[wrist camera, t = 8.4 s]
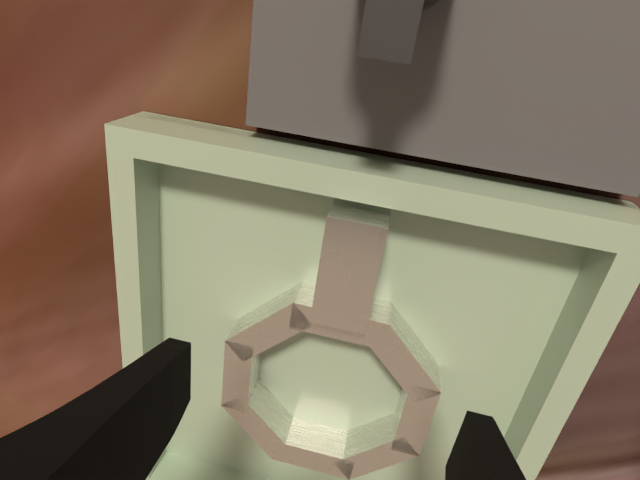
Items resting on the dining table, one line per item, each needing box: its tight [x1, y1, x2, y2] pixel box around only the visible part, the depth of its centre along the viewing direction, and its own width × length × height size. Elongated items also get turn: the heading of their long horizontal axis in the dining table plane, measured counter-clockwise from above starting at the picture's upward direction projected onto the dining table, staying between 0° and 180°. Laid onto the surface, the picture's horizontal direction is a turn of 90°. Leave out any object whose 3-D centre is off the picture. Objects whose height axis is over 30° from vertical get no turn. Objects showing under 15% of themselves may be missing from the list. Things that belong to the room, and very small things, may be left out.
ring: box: [221, 198, 442, 480], centre depth 18 cm, size 13×9×2 cm
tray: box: [104, 111, 640, 480], centre depth 20 cm, size 18×19×2 cm
